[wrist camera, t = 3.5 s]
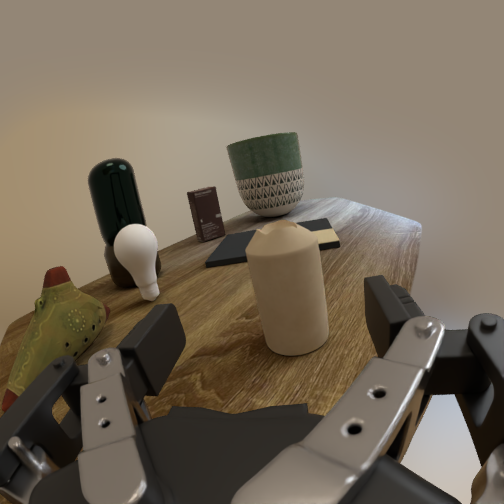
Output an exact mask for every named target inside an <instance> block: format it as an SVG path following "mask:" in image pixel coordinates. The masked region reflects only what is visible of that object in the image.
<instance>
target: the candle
mask: <svg viewBox="0 0 504 504" xmlns="http://www.w3.org/2000/svg"><path fill="white" fill-rule="evenodd" d="M245 251H246V256H247V260H248V265H249V269H250V274H251V278H252V283H253V287H254V292H255V296H256V300H257V305H258V309H259V314H260V318H261V323H262V327H263V331H264V335H265V339H266V343H267V345H268V347H269V348H270V349H271V350H272V351H274V352H275V353H278V354H281V355H289V356H294V355H302V354H306V353H309V352H312V351H314V350H316V349H317V348H319V347H320V346H322V345H323V344H324V343H325V342H326V340H327V338H328V334H329V327H328V316H327V307H326V298H325V290H324V282H323V274H322V266H321V259H320V252H319V245H318V238H317V236H316V235H315V234H313V233H312V232H311V231H309V230H308V229H306V228H304V227H302V226H300V225H298V224H296V223H294V222H289V221H287V220H279V221H277V222H274V223H269V224H266V225H264V226H263V228H262V229H257V230H256V232H255V234H254V236H253V238H252V239H251V241H250V243H249V244H248V246H247V248H246V250H245Z"/></svg>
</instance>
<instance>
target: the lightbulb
mask: <svg viewBox="0 0 504 504" xmlns="http://www.w3.org/2000/svg"><path fill="white" fill-rule="evenodd" d="M157 250H158V243H157V239H156V237H155V235H154V233H153V232H152V231H151V230H150V229H149V228H148V227H146V226H144V225H141V224H131V225H128V226H126V227H124V228H123V229H122V230H121V231H120V232H119V233H118V234H117V236H116V238H115V241H114V253H115V256H116V258H117V259H118V261H119V262H120V263H121V264H122V265H123V266H124V267H125V268H126V269H127V270H128V271H129V273H130V274H131V275H132V277H133V279H134V281H135V283H136V285H137V286H138V287H139V289H140V292H141V294H142V297H143V298H144V299H145V300H149V301H153V300H155V299H156V297H157V296H158V295H159V288H158V285H157V282H156V280H157V276H156V271H155V261H156V256H157Z"/></svg>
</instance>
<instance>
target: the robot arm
mask: <svg viewBox="0 0 504 504" xmlns="http://www.w3.org/2000/svg"><path fill="white" fill-rule="evenodd" d="M364 295H365V316H366V323H367V327H368V330H369V333H370V335H371V338H372V341H373V343H374V346H375V349H376V352H377V354H378V357H376V356H375V357H373V358H372V359H371V360H370V361H369V362H368V363H367V365H366V366H365V368H364V369H363V370H362V372H361V373H360V374H359V375H358V377H357V378H356V379H355V381H354V382H353V383H352V384H351V386H350V387H349V388H348V389H347V391H346V392H345V393H344V394H343V396H342V397H341V398H340V399H339V400H338V402H337V403H336V404H335V405H334V406H333V408H332V409H331V410H330V411H329V412H328V413H327V414H326V416H323V415H317V414H310V413H308V407H307V403H304V404H294V405H282V406H270V407H266V408H262V409H257V410H253V411H248V412H243V413H238V414H229V413H224V412H219V411H215V410H210V409H206V408H201V407H177V406H172V408H171V410H170V412H169V414H168V415H167V416H162V417H157V418H154V419H152V417H151V415H150V412H149V409H148V406H147V404H146V402H145V400H144V396H145V395H146V396H158V394H159V393H160V391H161V389H162V387H163V385H164V384H165V382H166V380H167V378H168V376H169V375H170V373H171V371H172V369H173V367H174V366H175V364H176V362H177V360H178V358H179V357H180V355H181V353H182V351H183V349H184V347H185V344H186V338H185V333H184V330H183V327H182V325H181V322H180V319H179V316H178V313H177V310H176V307H175V306H174V305H173V304H172V303H170V304H160V305H155V306H154V308H153V309H152V310H151V311H150V312H149V313H148V314H147V316H146V317H145V318H144V319H142V320H141V321H139V322H138V323H137V324H136V325H135V327H134V328H133V330H131V331H130V332H129V333H128V334H129V335H127V336H126V337H125V338H124V339H123V340H122V341H121V343H120V344H119V345H118V346H117V347H116V348H106V349H103V350H100V351H98V352H96V353H95V354H94V355H92V356H91V357H90V359H89V361H88V364H86V365H80V366H77V364H76V362H75V360H74V359H73V357H72V356H69V355H66V356H61V357H59V358H56V359H55V360H53V361H52V362H51V363H50V364H49V365H48V366H47V367H46V368H45V369H44V370H43V371H42V372H41V373H40V374H39V375H38V376H37V377H36V378H35V380H34V381H33V382H32V383H31V384H30V385H29V386H28V387H27V388H26V389H25V390H24V392H23V393H22V394H21V395H20V396H19V397H18V398H17V399H16V401H15V402H14V403H13V404H12V405H11V406H10V407H9V409H8V410H7V411H6V412H5V413H4V414H3V416H2V417H1V418H0V494H1V495H2V496H3V497H4V498H6V499H7V500H8V501H9V502H10V503H12V504H462V503H461V502H459V501H458V500H457V499H456V498H454V497H453V496H451V495H449V494H448V493H446V492H444V491H442V490H441V489H439V488H438V487H436V486H434V485H433V484H431V483H430V482H428V481H426V480H425V479H423V478H422V477H420V476H418V475H417V474H415V473H414V472H412V471H411V470H409V469H408V468H406V467H405V466H403V465H402V464H400V463H401V461H402V459H403V457H404V455H405V453H406V451H407V449H408V447H409V444H410V442H411V440H412V438H413V435H414V433H415V431H416V430H417V427H418V425H419V424H420V421H421V419H422V417H423V415H424V413H425V411H426V409H427V406H428V404H429V402H430V400H431V398H432V395H447V394H455V397H456V399H457V402H458V404H459V406H460V409H461V411H462V413H463V416H464V419H465V421H466V424H467V427H468V429H469V432H470V435H471V437H472V440H473V443H474V446H475V449H476V452H477V455H478V457H479V460H480V464H481V466H482V468H481V469H480V471H479V472H478V474H477V475H476V477H475V478H474V480H473V483H472V488H471V494H472V498H471V503H470V504H504V319H503V318H501V317H500V316H498V315H494V314H489V313H484V314H479V315H476V316H474V317H473V318H472V319H471V320H470V322H469V327H468V329H465V330H445V326H444V324H443V322H442V321H440V320H439V319H437V318H434V317H430V316H425V315H424V313H423V312H422V311H421V309H420V308H419V307H418V305H417V304H416V302H414V300H413V299H412V297H410V294H409V293H408V292H407V291H406V289H404V288H402V287H401V286H399V285H397V284H396V285H389V283H388V282H387V281H386V279H385V278H384V276H383V275H378V276H373V277H367V278H364ZM61 395H62V397H63V398H64V400H65V401H66V403H67V404H68V406H69V407H70V410H69V411H68V413H67V414H66V416H65V417H64V418H63V420H62V421H61V423H60V424H58V423H57V421H56V420H55V419H54V417H53V415H52V407H53V405H54V403H55V402H56V401H57V400H58V398H59V397H60V396H61ZM82 447H83V451H82V452H80V451H81V449H82ZM79 452H80V453H79ZM78 454H79V455H78ZM77 456H78V460H76V461H75V459H76V458H77Z"/></svg>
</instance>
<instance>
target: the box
mask: <svg viewBox="0 0 504 504" xmlns="http://www.w3.org/2000/svg"><path fill="white" fill-rule="evenodd" d="M187 195H188V200H189V204H190V209H191V213H192V218H193V222H194V226H195V230H196V235H197V239H198V241H201V242H205V241H208V240H211V239H214V238H217V237H220V236H223V235H225V231H224V226H223V221H222V217H221V212H220V207H219V202H218V197H217V192H216V187H207V188H203V189H198V190H194V191H191V192H187Z"/></svg>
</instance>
